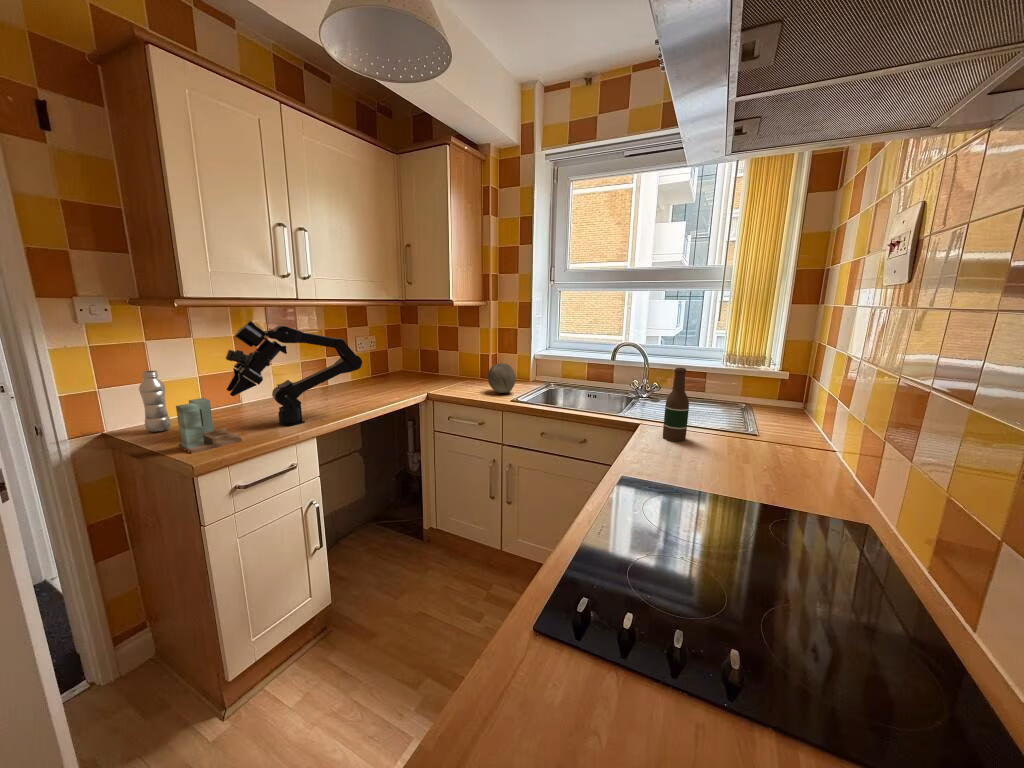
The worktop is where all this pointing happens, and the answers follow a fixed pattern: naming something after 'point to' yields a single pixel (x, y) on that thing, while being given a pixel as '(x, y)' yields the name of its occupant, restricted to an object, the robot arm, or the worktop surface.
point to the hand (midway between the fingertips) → (229, 392)
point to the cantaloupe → (501, 378)
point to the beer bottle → (676, 410)
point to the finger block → (204, 413)
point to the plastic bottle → (154, 402)
